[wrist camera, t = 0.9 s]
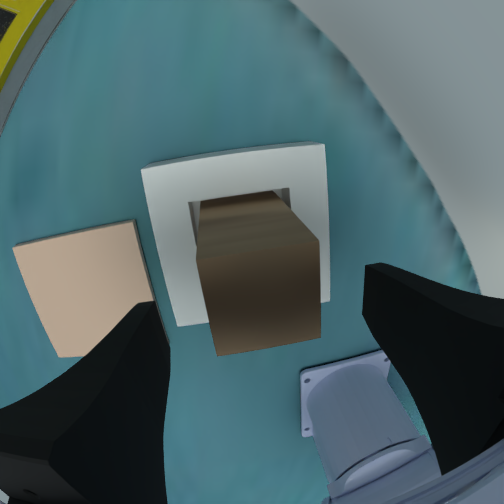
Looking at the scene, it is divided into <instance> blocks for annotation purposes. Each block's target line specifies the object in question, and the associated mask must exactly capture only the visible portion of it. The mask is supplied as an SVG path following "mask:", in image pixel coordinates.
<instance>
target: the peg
mask: <svg viewBox="0 0 504 504" xmlns="http://www.w3.org/2000/svg"><path fill="white" fill-rule="evenodd" d="M196 264H197V269H198V274H199V278H200V283H201V288H202V293H203V297H204V302H205V306H206V311H207V315H208V320H209V324H210V328H211V333H212V337H213V341H214V346H215V350H216V354H217V356H223V355H229V354H236V353H242V352H248V351H254V350H260V349H266V348H271V347H276V346H282V345H287V344H292V343H297V342H302V341H307V340H312V339H316V338H321V282H320V244H319V240H318V239H317V237H316V236H315V235H314V234H313V233H312V232H311V231H310V230H309V229H308V228H307V226H306V225H305V224H304V223H303V222H302V221H301V220H300V219H299V218H298V217H297V216H296V215H295V213H294V212H293V211H292V210H291V209H290V208H289V207H288V206H287V205H286V204H285V203H284V202H283V201H282V200H281V199H280V197H279V196H278V195H277V194H276V193H275V192H274V191H273V190H271V191H264V192H256V193H249V194H242V195H235V196H229V197H222V198H215V199H209V200H203V201H201V202H200V213H199V225H198V237H197V250H196Z"/></svg>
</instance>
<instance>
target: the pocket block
mask: <svg viewBox="0 0 504 504" xmlns="http://www.w3.org/2000/svg"><path fill="white" fill-rule="evenodd" d="M141 174H142V179H143V184H144V190H145V195H146V200H147V205H148V209H149V214H150V219H151V223H152V228H153V233H154V237H155V241H156V246H157V250H158V254H159V258H160V262H161V266H162V270H163V274H164V278H165V282H166V286H167V290H168V294H169V297H170V301H171V305H172V308H173V312H174V315H175V319H176V322H177V326H178V327H179V326H187V325H194V324H201V323H208V322H209V320H208V315H207V311H206V306H205V302H204V297H203V293H202V288H201V283H200V278H199V274H198V269H197V264H196V250H197V237H198V225H199V213H200V202H201V201H203V200H209V199H215V198H222V197H229V196H235V195H242V194H249V193H256V192H264V191H271V190H273V191H274V192H275V193H276V194H277V195H278V196H279V197H280V199H281V200H282V201H283V202H284V203H285V204H286V205H287V206H288V207H289V208H290V209H291V210H292V211H293V212H294V213H295V215H296V216H297V217H298V218H299V219H300V220H301V221H302V222H303V223H304V224H305V225H306V226H307V228H308V229H309V230H310V231H311V232H312V233H313V234H314V235H315V236H316V237H317V239H318V240H319V244H320V282H321V303H323V302H328V301H330V240H329V209H328V188H327V171H326V156H325V144H321V143H316V142H311V141H305V142H294V143H283V144H273V145H264V146H256V147H247V148H240V149H232V150H225V151H218V152H211V153H205V154H199V155H192V156H187V157H181V158H175V159H170V160H164V161H159V162H154V163H150V164H148V165H147V166H145V167H144V168H142V169H141Z"/></svg>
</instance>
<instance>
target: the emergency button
mask: <svg viewBox="0 0 504 504" xmlns="http://www.w3.org/2000/svg"><path fill="white" fill-rule="evenodd" d="M76 1H77V0H0V137H1V134H2V132H3V129H4V127H5V124H6V122H7V120H8V117H9V115H10V113H11V110H12V108H13V106H14V104H15V102H16V100H17V98H18V95H19V93H20V91H21V89H22V87H23V85H24V83H25V81H26V80H27V78H28V76H29V74H30V72H31V70H32V68H33V67H34V65H35V63H36V61H37V60H38V58H39V56H40V54H41V53H42V51H43V49H44V48H45V46H46V44H47V43H48V41H49V40H50V38H51V36H52V35H53V33H54V32H55V30H56V29H57V27H58V26H59V24H60V23H61V21H62V20H63V19H64V17H65V16H66V14H67V13H68V11H69V10H70V9H71V7H72V6H73V5H74V3H75V2H76Z"/></svg>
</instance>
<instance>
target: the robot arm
mask: <svg viewBox="0 0 504 504" xmlns="http://www.w3.org/2000/svg"><path fill="white" fill-rule="evenodd" d="M362 315H363V317H364V319H365V321H366V323H367V325H368V327H369V329H370V331H371V333H372V335H373V337H374V338H375V340H376V341H377V343H378V344H379V345H380V347H381V348H382V350H380V351H376V352H373V353H369V354H366V355H362V356H358V357H355V358H351V359H347V360H343V361H339V362H335V363H331V364H327V365H322V366H318V367H314V368H309V369H305V370H303V371H302V372H301V373H300V392H301V434H302V436H303V437H309V436H313V438H314V441H315V444H316V447H317V450H318V453H319V456H320V459H321V462H322V465H323V468H324V471H325V474H326V477H327V479H328V481H329V483H330V484H328V485H327V488H328V491H329V494H330V496H329V497H327V498H325V499H323V501H322V503H321V504H504V299H500V298H494V297H488V296H483V295H478V294H474V293H470V292H466V291H463V290H459V289H456V288H453V287H449V286H446V285H443V284H440V283H438V282H435V281H432V280H429V279H427V278H424V277H421V276H419V275H416V274H413V273H411V272H408V271H405V270H403V269H400V268H397V267H394V266H392V265H388V264H385V263H375V264H370V265H365V278H364V295H363V309H362ZM385 358H386V359H385ZM390 363H392V364H393V366H394V367H395V369H396V370H397V372H398V373H399V374H400V376H401V377H402V379H403V381H404V382H405V384H406V386H407V387H408V389H409V391H410V393H411V395H412V397H413V399H414V401H415V403H416V406H417V408H418V410H419V412H420V414H421V417H422V419H423V421H424V424H425V426H426V429H427V431H428V434H429V437H430V440H431V442H432V444H431V445H430V443H429V441H428V440H427V438H426V436H425V435H422V436H420V434H419V432H418V431H417V429H416V427H415V426H414V424H413V422H412V421H411V419H410V417H409V416H408V414H407V412H406V411H405V409H404V408H403V406H402V404H401V403H400V401H399V399H398V398H397V396H396V395H395V393H394V391H393V390H392V388H391V387H390V385H389V383H388V382H387V377H388V372H389V368H390ZM305 379H307V380H305ZM169 380H170V346H169V343H168V340H167V337H166V334H165V331H164V328H163V324H162V321H161V318H160V315H159V312H158V308H157V305H156V302H155V301H147V302H140V303H137V304H136V305H135V306H134V307H133V308H132V309H131V310H130V311H129V312H128V313H127V314H126V315H125V316H124V317H123V318H122V319H121V320H120V321H119V323H118V324H117V325H116V326H115V327H114V328H113V329H112V330H111V331H110V332H109V333H108V334H107V335H106V336H105V337H104V338H103V339H102V340H101V341H100V342H99V343H98V344H97V345H96V346H95V347H94V348H93V349H92V350H91V351H90V352H89V353H88V354H86V355H85V356H84V357H83V358H82V359H81V360H80V361H78V362H77V363H76V364H75V365H73V366H72V367H71V368H70V369H68V370H67V371H66V372H64V373H63V374H62V375H60V376H59V377H57V378H56V379H54V380H53V381H51V382H50V383H48V384H47V385H45V386H44V387H42V388H41V389H39V390H37V391H36V392H34V393H32V394H30V395H29V396H27V397H25V398H23V399H21V400H19V401H17V402H15V403H13V404H11V405H9V406H6V407H4V408H1V409H0V489H1V490H2V491H3V492H4V493H6V494H7V495H8V496H9V501H8V504H167V495H166V486H165V472H164V450H163V433H164V421H165V412H166V404H167V396H168V388H169ZM0 504H5V503H3V502H2V501H0Z"/></svg>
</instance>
